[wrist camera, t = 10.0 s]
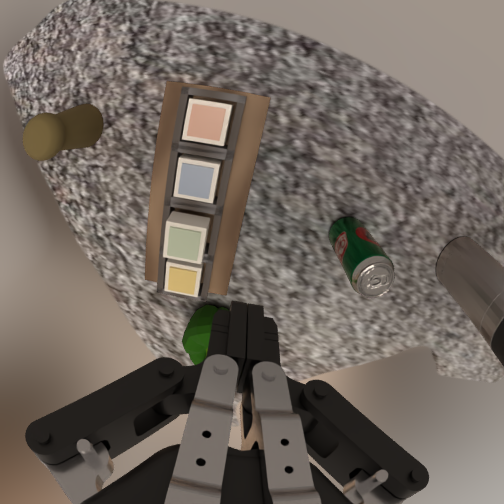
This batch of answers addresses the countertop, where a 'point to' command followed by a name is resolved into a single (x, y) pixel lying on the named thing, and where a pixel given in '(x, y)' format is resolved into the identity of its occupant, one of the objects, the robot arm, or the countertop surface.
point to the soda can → (361, 258)
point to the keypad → (228, 188)
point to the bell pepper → (199, 333)
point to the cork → (62, 131)
